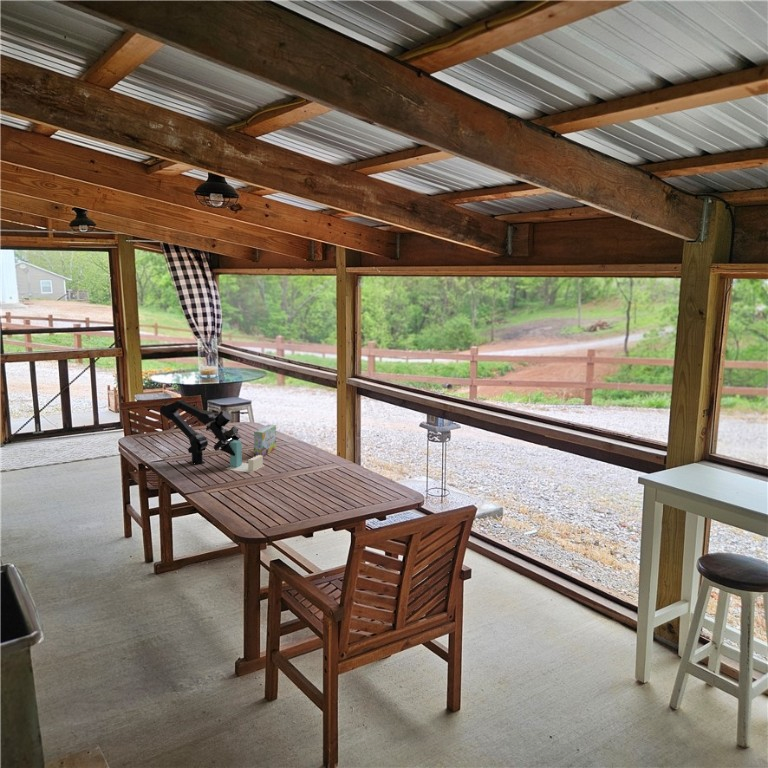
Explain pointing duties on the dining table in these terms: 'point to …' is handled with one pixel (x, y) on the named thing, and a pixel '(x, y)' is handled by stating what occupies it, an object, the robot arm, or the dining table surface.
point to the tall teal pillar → (236, 453)
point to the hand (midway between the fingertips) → (237, 454)
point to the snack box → (264, 440)
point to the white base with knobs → (250, 465)
